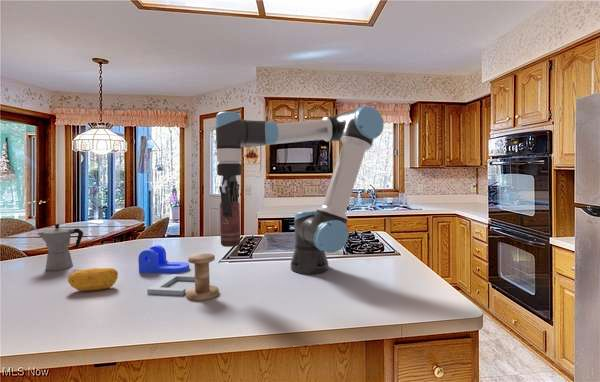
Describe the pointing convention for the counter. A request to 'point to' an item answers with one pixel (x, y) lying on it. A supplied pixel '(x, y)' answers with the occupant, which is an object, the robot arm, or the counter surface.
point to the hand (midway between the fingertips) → (231, 237)
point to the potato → (93, 279)
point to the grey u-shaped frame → (161, 286)
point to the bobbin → (202, 278)
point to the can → (230, 226)
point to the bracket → (159, 262)
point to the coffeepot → (59, 247)
